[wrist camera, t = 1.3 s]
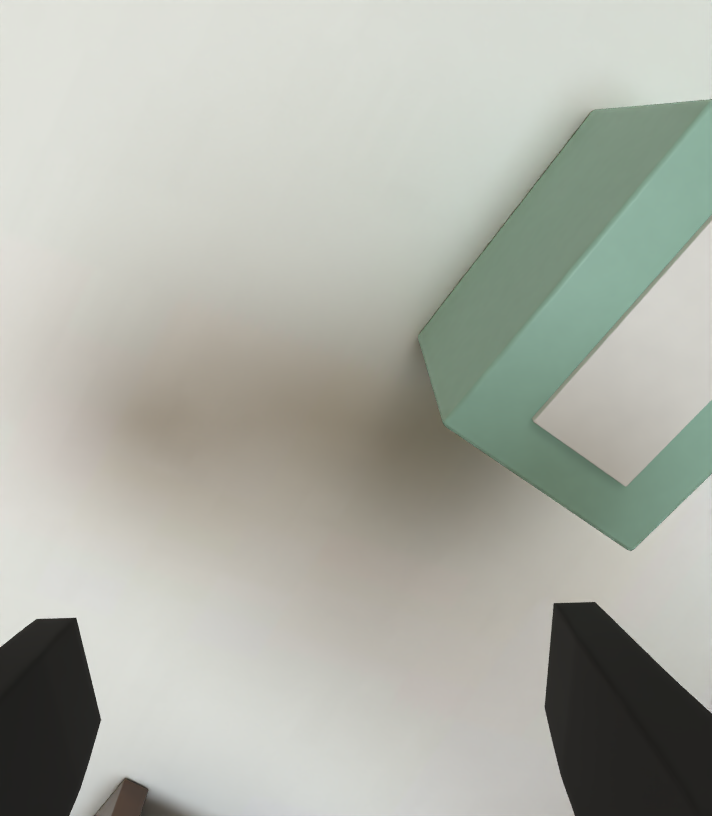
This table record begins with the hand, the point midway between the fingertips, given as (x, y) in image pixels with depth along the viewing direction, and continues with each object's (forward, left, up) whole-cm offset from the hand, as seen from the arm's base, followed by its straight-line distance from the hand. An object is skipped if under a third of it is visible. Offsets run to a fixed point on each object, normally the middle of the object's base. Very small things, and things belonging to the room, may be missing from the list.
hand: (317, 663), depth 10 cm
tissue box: (-3, -7, -10) cm, 12 cm away
